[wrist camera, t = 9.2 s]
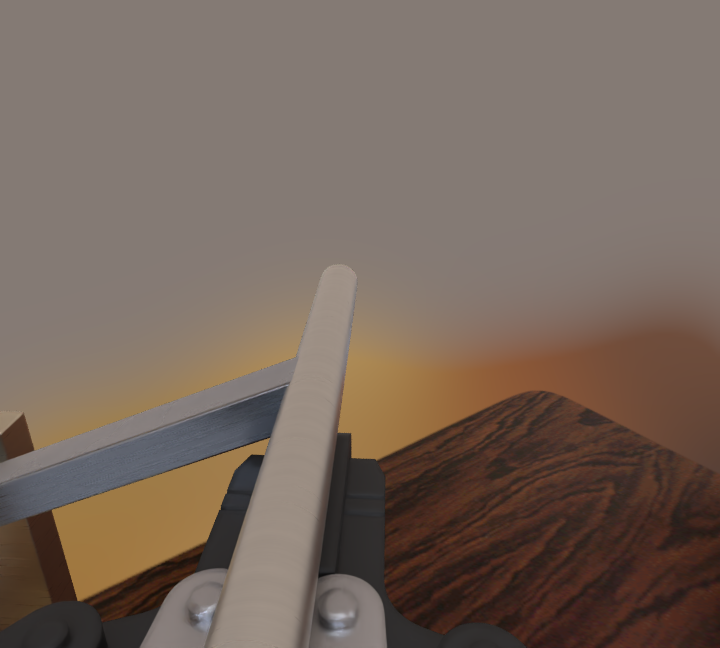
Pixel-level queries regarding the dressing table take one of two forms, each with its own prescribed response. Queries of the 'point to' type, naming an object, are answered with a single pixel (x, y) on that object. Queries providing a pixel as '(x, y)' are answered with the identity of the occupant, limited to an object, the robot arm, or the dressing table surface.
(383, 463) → the dressing table surface
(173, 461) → the tap lever
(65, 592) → the bracket
